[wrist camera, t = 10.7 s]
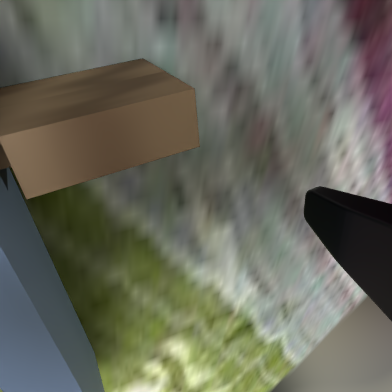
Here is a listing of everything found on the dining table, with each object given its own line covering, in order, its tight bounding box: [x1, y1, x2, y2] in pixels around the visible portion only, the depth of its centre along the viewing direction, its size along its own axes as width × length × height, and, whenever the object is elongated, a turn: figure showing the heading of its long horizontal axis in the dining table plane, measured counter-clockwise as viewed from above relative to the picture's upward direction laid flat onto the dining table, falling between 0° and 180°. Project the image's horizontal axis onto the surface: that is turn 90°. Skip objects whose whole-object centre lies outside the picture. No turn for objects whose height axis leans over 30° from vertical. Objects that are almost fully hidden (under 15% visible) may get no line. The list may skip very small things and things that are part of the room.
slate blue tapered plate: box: [0, 167, 104, 392], centre depth 16 cm, size 24×2×8 cm, turn 6°
